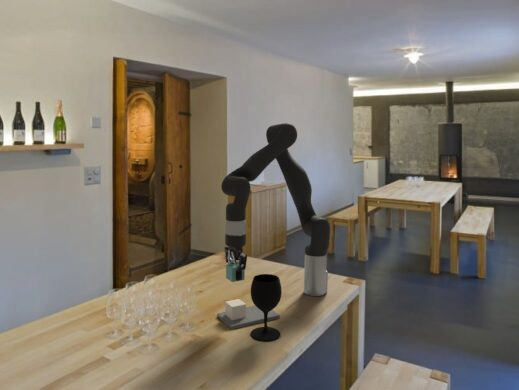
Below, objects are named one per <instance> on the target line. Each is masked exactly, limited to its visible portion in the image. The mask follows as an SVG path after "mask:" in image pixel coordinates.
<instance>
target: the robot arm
mask: <svg viewBox="0 0 519 390" xmlns="http://www.w3.org/2000/svg"><path fill="white" fill-rule="evenodd" d="M265 132H266V133H265V137H266V138H265V139H266V141H267V145H265V146H264V147H262V148H260V149H259V150H257V151H256V152H255V153H253V154H252V155H251V156H250V157H249V158H248V159H246V161H245V162H244V163H243V164H242V165H241V166H239V167H238V168H236V169H235V170H232V171H231V172H230V173H228V174H227V175H226V176H225V177H224V178H223V180H222V182H221V187H220V188H221V191H222V193H223V194H224V195H227V196H230V197H234V199H233V202H229V203H227V204H226V206H225V224H224V244H225V246H224V255H225V256H224V257H225V262H226V264H227V265H228V264H235V268H236V280H237V281H236V282H240V281H239V280H241V281H243V280H242V270H246V269H247V260H248V255H247V254H245V253H244V250H243V247H245V246H246V245H247V223H246V222H247V221H246V210H247V205H248V202H249V198H250V194H251V183H250V182H253V181H255V180H256V179H257V178H258V177H259V176H260V175H261V174H262V173H263V171H265V169H266V168H267V167H268V166H269V165H270V164H271V163H272V162H274V160H276V162H277V165H278V166H279V168H280V172H281V173H282V176H283V178H284V181H285V183H286V186H287V190H288V191H289V194H290V196H291V198H292V201H293V204H294V206H295V209H296V212H297V214H298V218H299V222H300V226H301V228H302V232H303V233H304V234H305V235H307V236H308V237H310V242H309V243H310V244H309V245H306V246H305V247H304V268H303V269H304V273H303V274H304V275H303V293H304V294H305V295H307V296H312V297H321V296H324V295H325V294H327V293H328V281H329V280H328V276H329V275H328V274H329V271H328V270H327V254H328V252H327V251H328V249H329V247H330V238H331V225H330V222H329V221H328V220H327V218H324V217H320V216H318V215H317V214H316V211H315V210H314V207H313V205H312V191H313V188H312V184H311V181H310V178H309V176H308V174H307V171H306V170H305V169H304V168H303V166H302V165H301V164H300V163H298V162H297V161H296V160H295V159H294V157H293V156H292V155H291V153H290V151H289V150H288V149H289V148H291V147H292V146H293V145H294V144H295V143H296V141H297V138H298V131H297V128H296V126H295V125H294V124H292V123H290V122H289V123H288V122H284V123H278V124H272V125H270V126H269V127H268V128H267V129H266V131H265Z"/></svg>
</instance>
